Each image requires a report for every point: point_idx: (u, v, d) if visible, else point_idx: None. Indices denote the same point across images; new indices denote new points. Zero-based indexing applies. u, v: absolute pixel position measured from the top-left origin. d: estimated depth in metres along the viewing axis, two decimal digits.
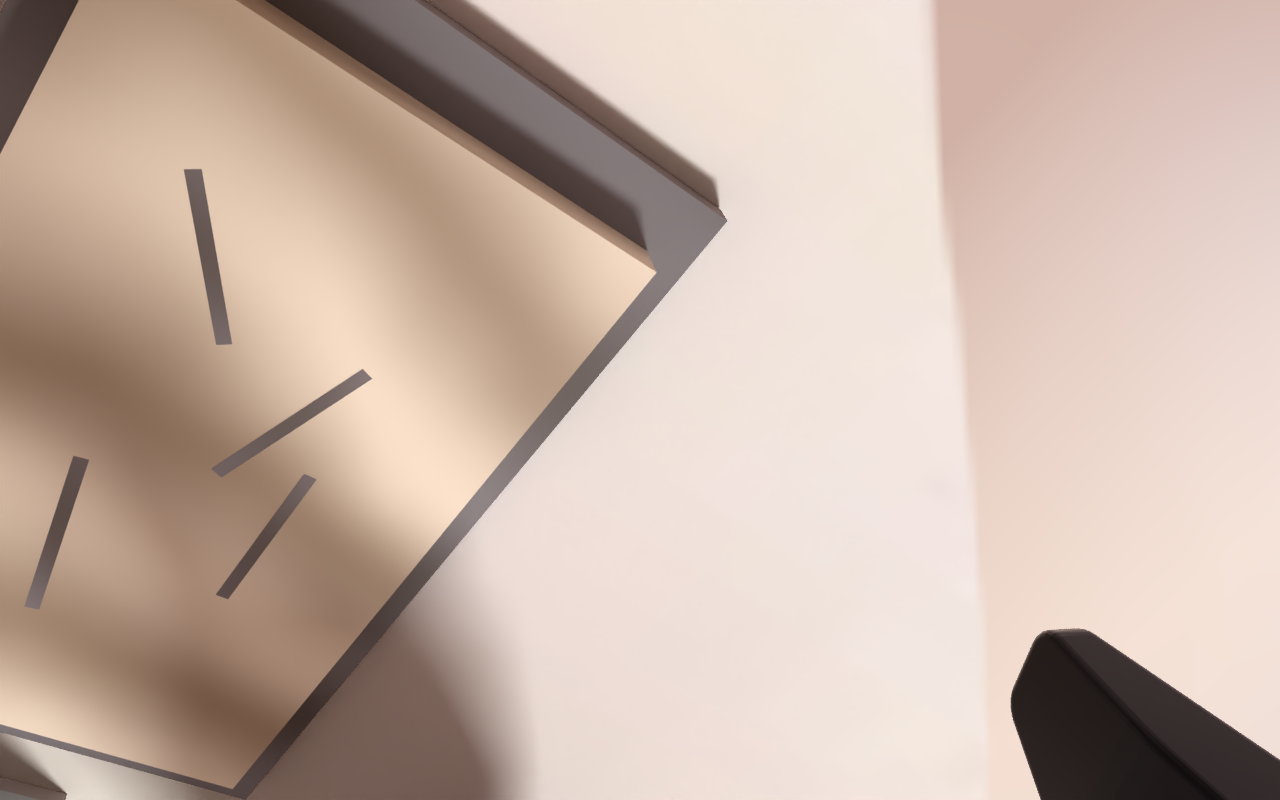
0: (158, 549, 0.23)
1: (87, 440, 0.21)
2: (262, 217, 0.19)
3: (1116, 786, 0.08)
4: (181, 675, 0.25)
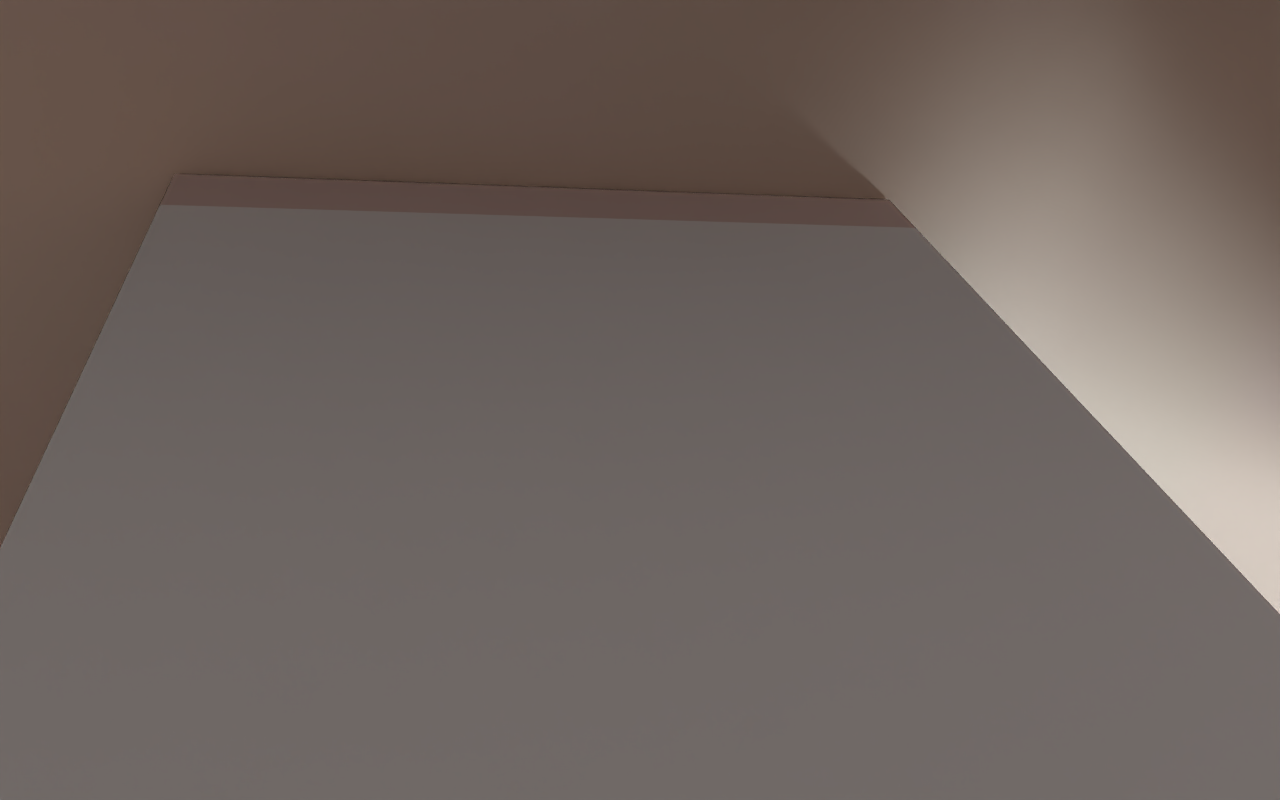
0: None
1: None
2: None
3: None
4: None
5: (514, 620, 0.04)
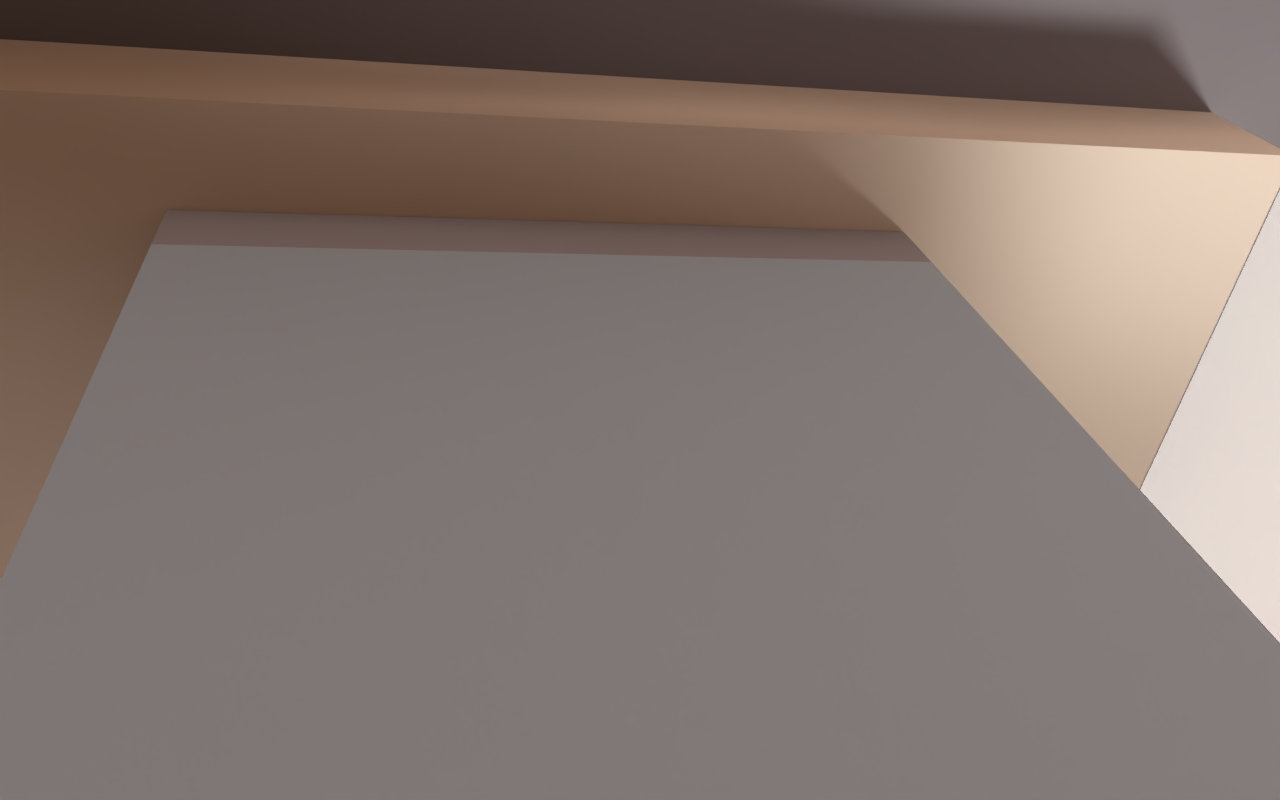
0: None
1: None
2: None
3: None
4: None
5: (521, 712, 0.04)
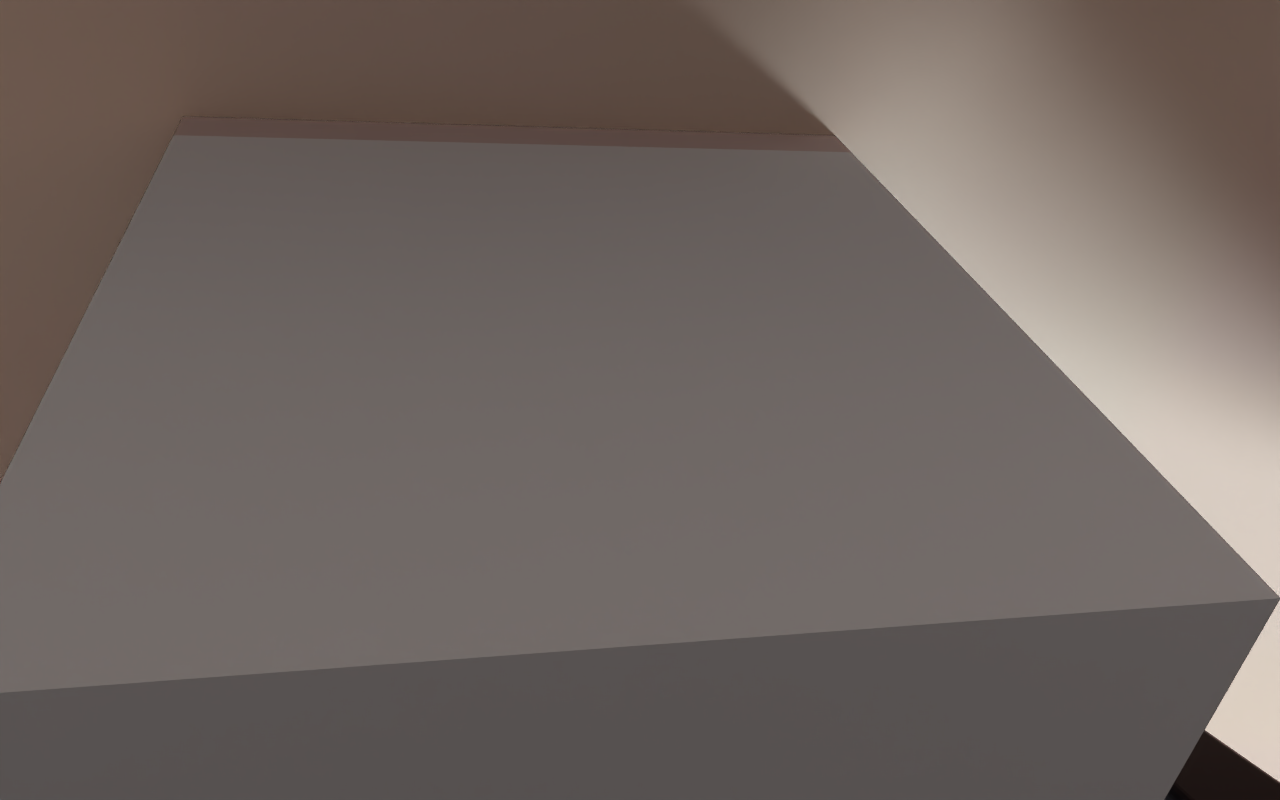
0: None
1: None
2: None
3: None
4: None
5: (474, 429, 0.05)
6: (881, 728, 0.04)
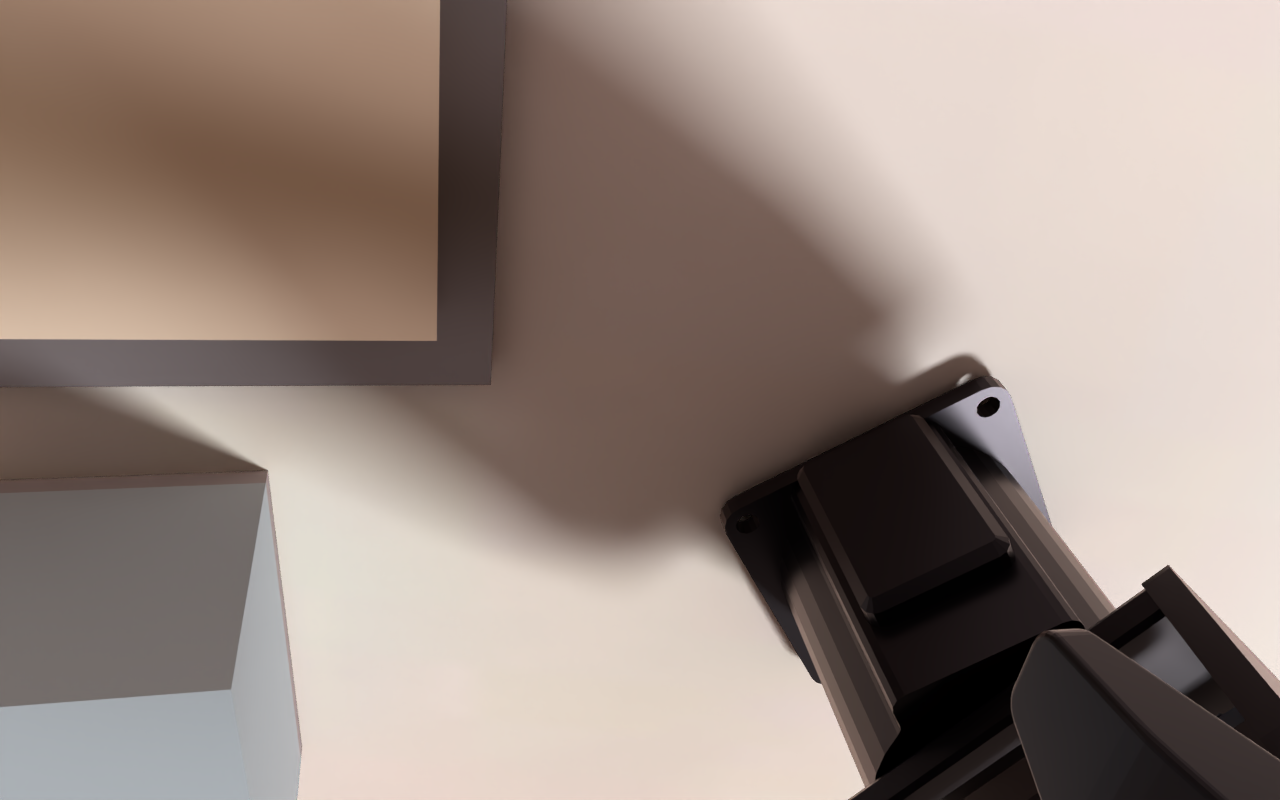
0: None
1: None
2: None
3: (1116, 786, 0.08)
4: (225, 138, 0.15)
5: (23, 637, 0.16)
6: (122, 724, 0.16)
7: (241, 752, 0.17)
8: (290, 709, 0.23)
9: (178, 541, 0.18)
